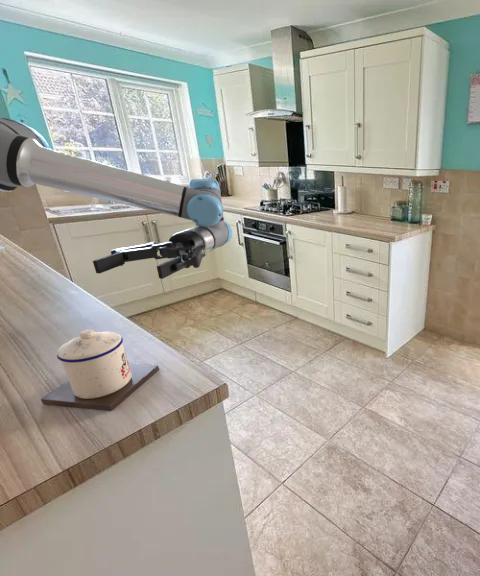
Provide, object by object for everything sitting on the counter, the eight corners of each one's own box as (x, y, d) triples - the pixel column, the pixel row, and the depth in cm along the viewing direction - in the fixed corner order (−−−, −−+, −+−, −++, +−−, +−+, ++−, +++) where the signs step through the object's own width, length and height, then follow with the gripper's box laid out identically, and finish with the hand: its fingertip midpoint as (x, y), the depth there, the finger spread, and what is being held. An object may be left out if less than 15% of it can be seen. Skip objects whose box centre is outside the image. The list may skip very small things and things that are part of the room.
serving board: (42, 404, 59) (40, 399, 58) (100, 364, 70) (99, 359, 69) (111, 410, 58) (109, 405, 58) (159, 369, 69) (158, 365, 69)
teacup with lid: (139, 383, 63) (124, 331, 59) (77, 408, 57) (55, 352, 52) (122, 358, 70) (107, 309, 66) (65, 377, 64) (44, 325, 59)
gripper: (238, 260, 87) (189, 291, 68) (149, 253, 89) (75, 281, 69) (235, 233, 85) (183, 257, 65) (143, 226, 86) (64, 247, 66)
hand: (127, 269), depth 67 cm, fingers open, 13 cm apart
